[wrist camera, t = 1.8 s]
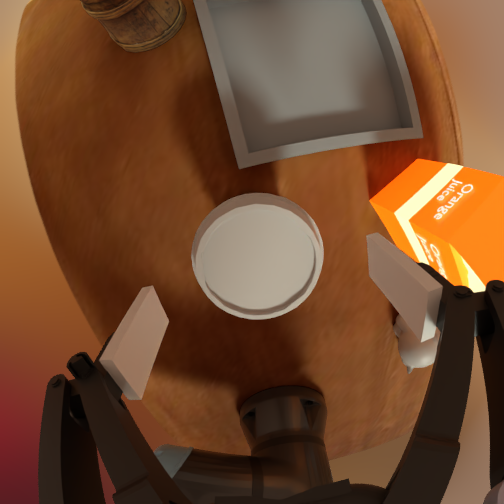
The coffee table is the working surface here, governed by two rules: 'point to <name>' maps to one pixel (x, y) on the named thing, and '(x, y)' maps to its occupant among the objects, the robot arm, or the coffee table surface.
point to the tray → (307, 76)
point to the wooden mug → (138, 21)
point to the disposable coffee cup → (257, 255)
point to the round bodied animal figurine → (414, 346)
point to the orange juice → (447, 220)
